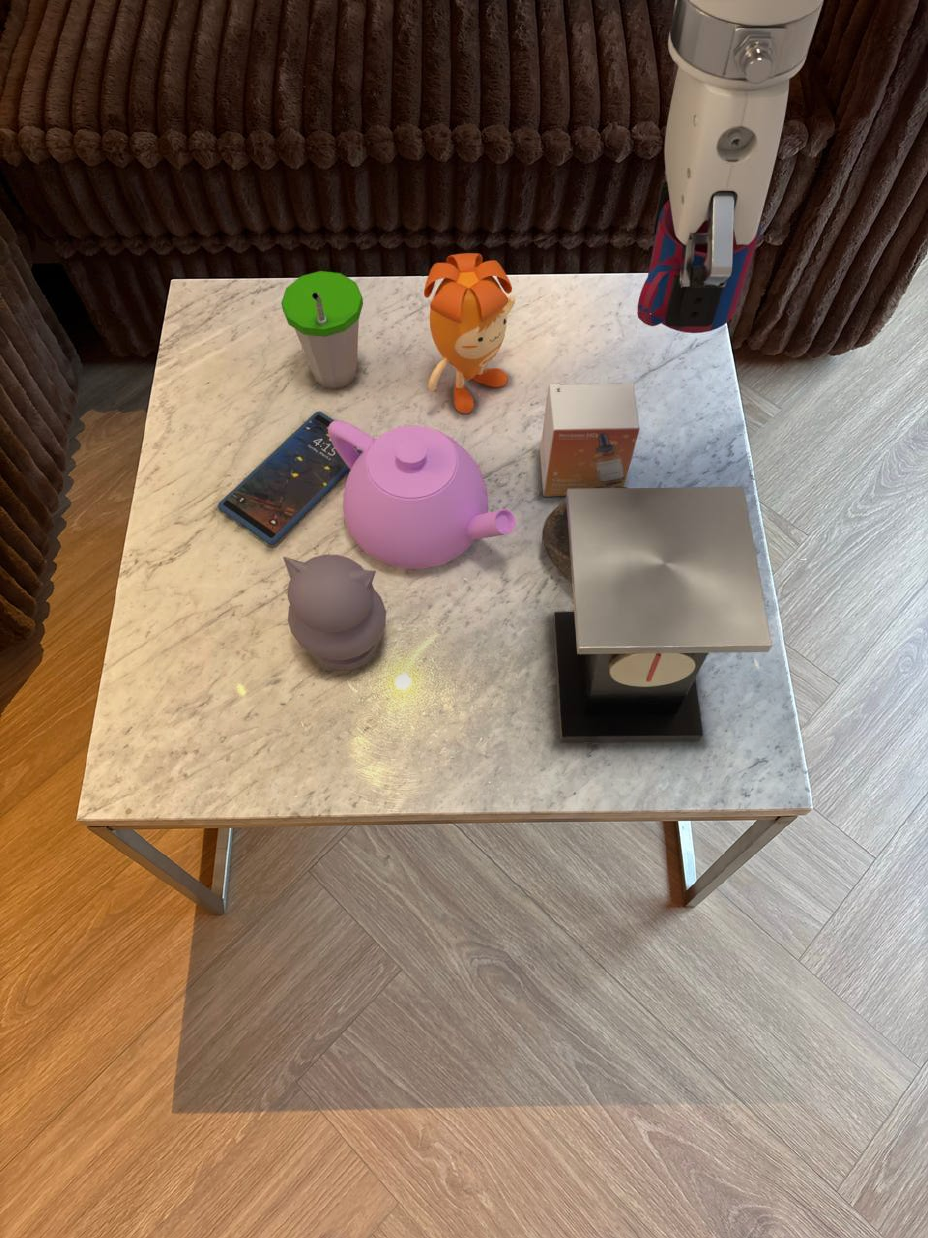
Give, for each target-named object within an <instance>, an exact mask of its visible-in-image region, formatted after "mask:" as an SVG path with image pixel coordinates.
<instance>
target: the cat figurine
mask: <svg viewBox="0 0 928 1238" xmlns="http://www.w3.org/2000/svg"><path fill="white" fill-rule="evenodd" d="M282 558H283V561H284V565H285V567H286V571H287V573H288V575H289V578H290V580H289V581H288V586H287V599H288V603H289V606H288V615H287V622H288V625H289V629H290V632H291V635H292V636H293V638H294V639H295V641H296V642H297V643H298V644H299V646H300V647H301V649H304V650H305V651H306V652H308V653H310V654H312V655H313V657H314V658H315V660H316V661H317V662H318V663H319V664H320V665H322V666H323V667H325V668H327V669H329V670H333V671H336V672H349V671H353V670H356V669H359V668H361V667H363V666H364V665H366V664H368V663H369V662H370V660H372V658H374V656H375V655H376V653H377V651H378V648H379V645H380V640H381V637H382V635H383V633H384V631H385V628H386V623H387V622H386V621H387V620H386V619H387V610H386V607H385V604H384V601H383V599H382V597H381V595H380V594H379V593H378V591H377V590H376V589H375V587H374V585H373V581H374V579H375V576H376V573H377V570H369V569H365V568H364V567H363V566H362V565H361V564H360V563H358V562H357V561H355V560H353V559H351V558H349V557H346V556H344V555H343V556H342V555H339V554H323V555H322V554H321V555H318V556H314V557H311V558H309V559H308V560H306V561H300V560H297V559H293V558H289V557H288V556H287V557H286V556H282Z"/></svg>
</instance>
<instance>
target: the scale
mask: <svg viewBox="0 0 928 1238" xmlns="http://www.w3.org/2000/svg"><path fill="white" fill-rule="evenodd" d="M565 500H566V502H567V516H568V530H569V544H570V558H571V572H572V584H571V585H572V597H573V598H572V599H573V611H554V612H553V616H552V617H553V618H552V624H553V625H552V626H553V640H554V641H553V642H554V658H555V674H556V675H555V676H556V677H555V678H556V691H557V692H556V693H557V695H556V696H557V706H558V707H557V711H558V726H559V727H558V728H559V742H560V743H561V744H566V743H567V744H570V743H573V744H574V743H578V744H579V743H580V744H581V743H663V742H665V743H666V742H667V743H668V742H669V743H670V742H677V743H679V742H700V741H701V739H702V738H703V737H704V731H703V725H702V717H701V716H702V715H701V709H700V702H699V701H700V700H699V695H698V694H699V693H698V687H697V676H698V674H699V672H700V671H701V669H702V666H703V665H704V663H705V661H706V659H707V657H708V655H709V654H711V653H712V654H717V653H720V654H721V653H726V654H727V653H728V654H729V653H769V652H770V650H771V649H772V647H773V644H772V638H771V631H770V626H769V621H768V615H767V610H766V609H767V608H766V603H765V598H764V597H765V596H764V591H763V586H762V581H761V580H762V579H761V575H760V569H759V563H758V559H757V554H756V547H755V541H754V535H753V530H752V524H751V518H750V512H749V507H748V501H747V495H746V489H745V486H697V487H696V486H694V487H690V486H686V487H684V486H683V487H682V486H681V487H627V488H585V489H567V494H566V496H565Z"/></svg>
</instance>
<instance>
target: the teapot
mask: <svg viewBox="0 0 928 1238" xmlns="http://www.w3.org/2000/svg"><path fill="white" fill-rule="evenodd" d="M328 434H329V437H330V440H331V442H332V444H333V446H334V447H335V449H336V450H337V452H338V453H339V455H340V456H341V458H342V459H343V460H344V462H345V463H346V464H347V466H348V467H349V468H350V470H351V471H350V472H349V473H348V474H347V478H346V482H345V484H344V491H343V496H342V509H343V510H342V511H343V517H344V522H345V526H346V528H347V531H348V532H349V534H350V536H351V538H352V539H353V541H354V542H355V543H356V544H357V545H358V546H359V547H360V548H361V549H362V550H363V551H364V552H366V553H367V555H369V556H371V557H372V558H374V560H375V559H376V560H377V561H379V562H381V563H384V564H386V565H390V566H393V567H397V568H400V569H409V570H410V569H411V570H413V569H415V570H416V569H427V568H429V569H430V568H433V567H437V566H441V565H444V564H446V563H448V562H450V561H452V560H454V559H456V558H458V557H459V556H461V555H462V554H463V553H464V552H466V551H467V550H468V549H469V548H471V546H472V545H473V543H474V542H475V541H476V540H480V539H487V538H492V537H499V536H504V535H510V534H511V533H512V532H514V530H515V529H516V526H517V519H516V516H515V514H514V513H513V511H511V510H509V509H507V508H501V509H497V510H493V511H489V494H488V488H487V485H486V481H485V479H484V476H483V473H482V471H481V469H480V468H479V466H478V463H477V462H476V461H475V459H474V458H473V457H472V456H471V454H470V453H469V451H467V449H465V448H464V447H463V446H462V445H461V444H460V443H459V442H457V441H456V440H455V439H453V438H452V437H450V436H449V435H447V434H445V433H443V432H442V431H439V430H438V429H435V428H431V427H428V426H425V425H417V424H416V425H415V424H412V425H410V424H409V425H403V426H398V427H395V428H392V429H390V430H388V431H386V432H384V433H382V434H380V435H379V436H378V437H377V438H374V437H373V436H371V435H370V434H368V433H367V432H366V431H364V430H362V429H360V428H359V427H357V426H355V425H353V424H352V423H349V422H347V421H345V420H341V419H336V420H335V419H334V421H333V422H332V423H330V425H329V427H328ZM354 446H355V447H357V448H358V449H360V450H361V451H363V452H362V453H361V455H359V454H358V452H357V451H356V449H355V447H354Z"/></svg>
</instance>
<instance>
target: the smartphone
mask: <svg viewBox="0 0 928 1238" xmlns="http://www.w3.org/2000/svg"><path fill="white" fill-rule="evenodd" d="M333 421H335V419H333V418H331V417H329V416H328V415H327V414H325V413H324V412H322V411H316V412H314V413H313V414H312V415H311V416H310V417H309V418H307V420H306V421H305V422H303V423H302V424H301V425H300V426H299V427H298V428H297V429H296V430H295V431H294V432H293V433H291V435H290V436H288V438H286V439H285V440H284V441H283V442H282V443H281V444H280V445H279V446H278V447H277V448H276V449H275V450H274V451H273V452H271V454H269V455H268V456H267V457H266V458H265V459H264V460H263V461H262V462H261V463H260V464H258V466H257V467H256V468H254V469H253V470H252V471H251V472H250V473H249V474H248V475H247V476H246V477H245V478H244V479H242V481H240V482H239V484H238V485H236V486H235V487H234V488H233V489H232V490H231V491H230V492H228V494H226V496H225V497H223V499H221V500H220V501H219V503H218V505H217V508H218V510H219V511H220V512H222V513H223V514H224V515H226V516H227V517H228V518H230V519H232V520H233V521H235V522H236V523H238V524H239V525H241V527H242V528H244V529H246V530H247V531H249V532H250V533H251V534H253V535H254V536H255V537H257V538H259V539H260V540H261V541H263V542H264V543H265V544H267V545H268V546H271V547H272V546H276V545H277V544H279V542H281V540H282V539H283V538H284V537H285V536H286V535H287V534H288V533H289V532H291V530H292V529H293V528H295V526H297V524H298V523H299V522H301V520H302V519H303V518H304V517H305V516H307V514H309V513H310V512H311V510H313V509H314V508H315V507H316V505H318V504H319V503H320V502H321V500H322V499H323V498H324V497H326V495H328V494H329V493H330V492H331V491H332V490H333V489H334V487H336V485H338V483H340V482H341V481H342V480H343V479H344V478H345V477H346V476H348V475H349V473H350V471H351V470H350V468H349V467H348V466H347V464H346V463H345V462H344V460H343V459H342V458H341V456H340V455H339V453H338V452H337V450H336V449H335V447H334V446H333V444H332V442H331V440H330V437H329V434H328V427H329V425H330V423H332V422H333ZM354 447H355V446H354ZM355 449H356V451H357V452H358V454H359V455H361V453H362V452H363V451H361V450H360V449H358V448H357V447H355Z"/></svg>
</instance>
